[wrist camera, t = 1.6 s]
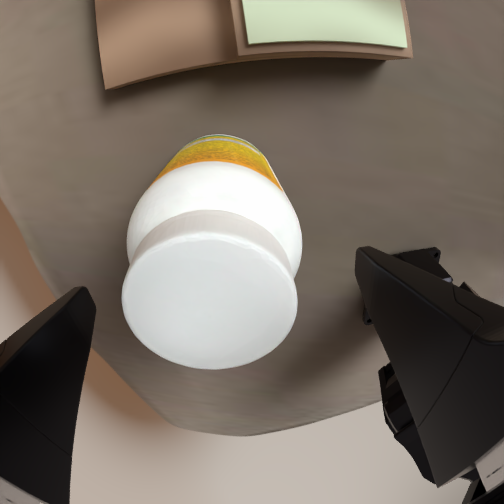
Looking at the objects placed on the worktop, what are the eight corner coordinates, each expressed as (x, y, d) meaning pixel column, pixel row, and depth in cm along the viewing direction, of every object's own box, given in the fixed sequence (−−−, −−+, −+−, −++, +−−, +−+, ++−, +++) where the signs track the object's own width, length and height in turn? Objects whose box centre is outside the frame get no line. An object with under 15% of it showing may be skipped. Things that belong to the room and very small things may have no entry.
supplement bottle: (289, 203, 18) (355, 340, 9) (201, 248, 19) (185, 403, 10) (240, 112, 15) (263, 145, 6) (146, 167, 16) (51, 279, 7)
